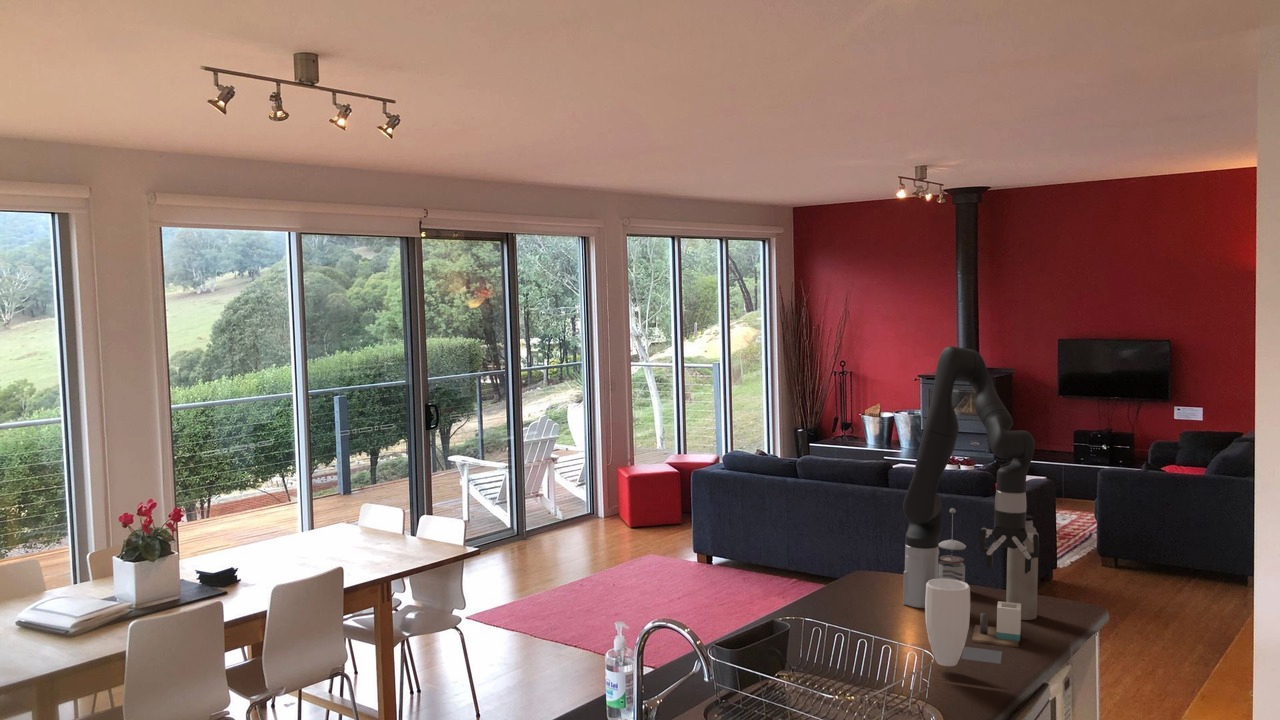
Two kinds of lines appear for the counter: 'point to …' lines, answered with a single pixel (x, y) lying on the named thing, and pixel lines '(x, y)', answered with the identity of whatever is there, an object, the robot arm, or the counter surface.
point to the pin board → (989, 634)
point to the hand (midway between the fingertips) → (1008, 570)
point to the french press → (951, 559)
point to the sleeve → (1008, 621)
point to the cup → (947, 618)
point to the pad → (982, 655)
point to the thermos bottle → (1023, 577)
